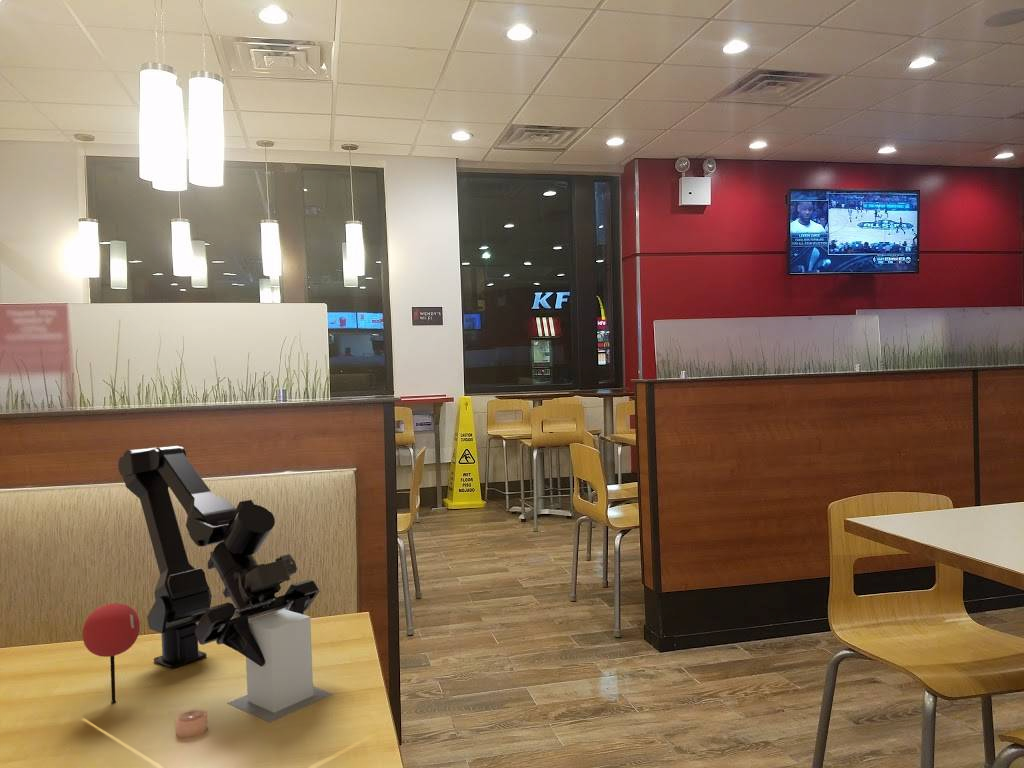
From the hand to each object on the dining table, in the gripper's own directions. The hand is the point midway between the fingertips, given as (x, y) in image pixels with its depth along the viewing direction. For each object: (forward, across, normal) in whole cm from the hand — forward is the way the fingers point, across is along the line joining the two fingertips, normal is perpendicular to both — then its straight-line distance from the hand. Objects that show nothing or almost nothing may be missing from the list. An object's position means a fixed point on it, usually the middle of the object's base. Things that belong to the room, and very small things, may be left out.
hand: (284, 656), depth 109 cm
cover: (+4, 0, +6) cm, 7 cm away
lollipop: (-11, -15, +21) cm, 28 cm away
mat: (+4, 0, +6) cm, 7 cm away
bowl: (+3, -13, +7) cm, 15 cm away
